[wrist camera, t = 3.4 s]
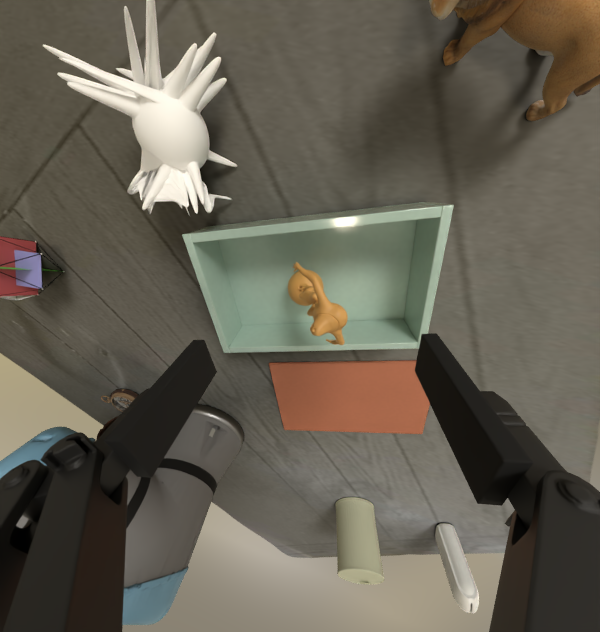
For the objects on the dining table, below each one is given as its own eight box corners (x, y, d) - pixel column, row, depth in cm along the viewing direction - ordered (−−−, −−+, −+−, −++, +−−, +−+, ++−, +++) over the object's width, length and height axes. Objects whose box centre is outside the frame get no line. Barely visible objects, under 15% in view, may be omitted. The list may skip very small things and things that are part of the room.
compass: (141, 390, 40) (107, 427, 34) (151, 417, 44) (122, 454, 38) (99, 382, 40) (57, 418, 34) (113, 410, 44) (77, 446, 38)
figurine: (276, 255, 25) (240, 301, 15) (326, 233, 23) (326, 267, 13) (305, 315, 28) (293, 386, 18) (350, 299, 27) (366, 368, 16)
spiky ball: (139, 186, 24) (60, 196, 17) (105, 11, 17) (-50, -88, 10) (238, 213, 24) (199, 234, 17) (246, 50, 17) (185, -21, 10)
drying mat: (284, 427, 41) (284, 429, 41) (269, 362, 33) (268, 364, 33) (421, 431, 38) (422, 434, 37) (439, 359, 30) (440, 361, 30)
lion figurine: (385, 68, 17) (434, -35, 9) (424, -44, 14) (539, -320, 7) (553, 133, 18) (727, 89, 10) (619, 39, 15) (925, -120, 7)
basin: (238, 329, 31) (223, 353, 26) (208, 226, 24) (181, 234, 20) (408, 322, 28) (424, 348, 23) (426, 201, 21) (454, 204, 17)
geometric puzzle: (-29, 214, 24) (-89, 274, 21) (29, 222, 24) (-23, 284, 21) (40, 255, 31) (2, 306, 28) (87, 262, 31) (53, 314, 28)
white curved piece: (451, 539, 57) (480, 619, 47) (433, 538, 58) (457, 616, 47) (454, 522, 53) (487, 607, 42) (434, 521, 53) (461, 604, 43)
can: (343, 515, 57) (347, 587, 47) (329, 498, 53) (329, 573, 43) (379, 512, 54) (391, 588, 44) (366, 495, 50) (376, 573, 40)
